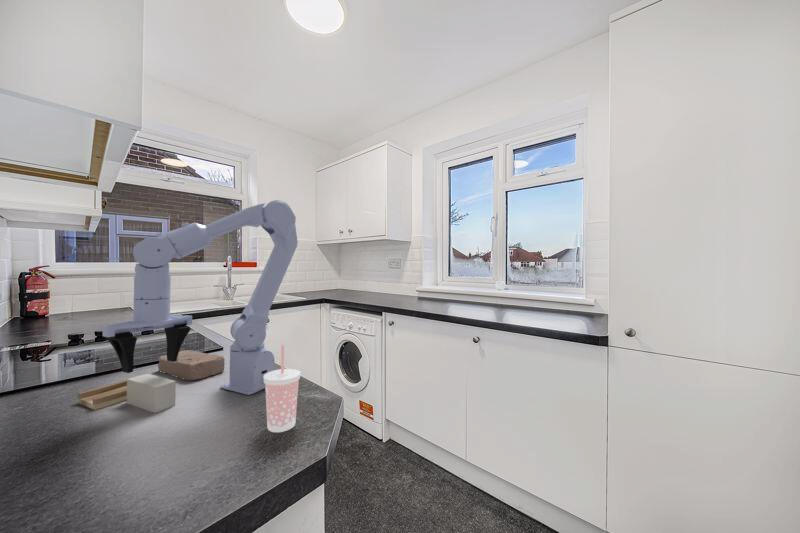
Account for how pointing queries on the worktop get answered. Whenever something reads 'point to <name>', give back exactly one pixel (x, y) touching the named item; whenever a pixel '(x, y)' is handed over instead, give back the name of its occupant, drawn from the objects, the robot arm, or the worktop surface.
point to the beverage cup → (281, 397)
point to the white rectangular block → (151, 392)
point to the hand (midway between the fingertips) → (151, 366)
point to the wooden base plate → (104, 395)
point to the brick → (192, 365)
